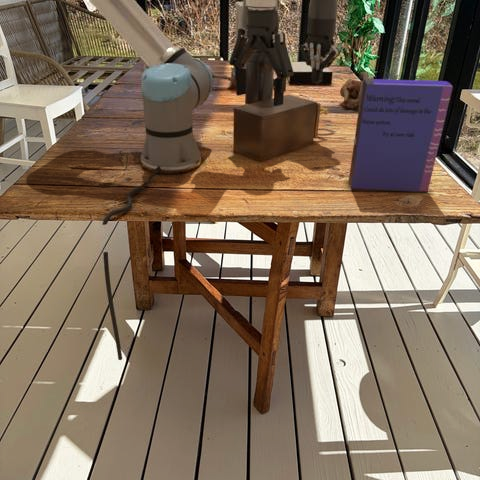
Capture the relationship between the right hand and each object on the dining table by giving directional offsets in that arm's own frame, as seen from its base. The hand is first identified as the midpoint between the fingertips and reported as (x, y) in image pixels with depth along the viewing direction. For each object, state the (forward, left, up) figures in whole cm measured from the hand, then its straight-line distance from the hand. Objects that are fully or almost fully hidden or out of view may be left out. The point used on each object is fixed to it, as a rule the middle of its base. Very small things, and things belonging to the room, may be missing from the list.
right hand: (316, 82), depth 136 cm
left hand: (+14, -18, -1) cm, 23 cm away
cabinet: (+10, -13, -15) cm, 22 cm away
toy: (-87, -41, -15) cm, 97 cm away
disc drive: (-74, +15, -15) cm, 77 cm away
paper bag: (-87, -7, -15) cm, 89 cm away
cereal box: (+38, +9, -15) cm, 42 cm away
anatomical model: (-32, +22, -15) cm, 42 cm away
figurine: (-58, -13, -15) cm, 62 cm away
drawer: (+6, -8, -14) cm, 18 cm away
